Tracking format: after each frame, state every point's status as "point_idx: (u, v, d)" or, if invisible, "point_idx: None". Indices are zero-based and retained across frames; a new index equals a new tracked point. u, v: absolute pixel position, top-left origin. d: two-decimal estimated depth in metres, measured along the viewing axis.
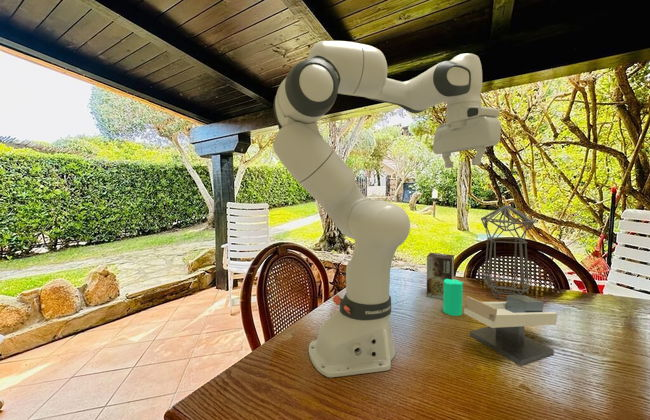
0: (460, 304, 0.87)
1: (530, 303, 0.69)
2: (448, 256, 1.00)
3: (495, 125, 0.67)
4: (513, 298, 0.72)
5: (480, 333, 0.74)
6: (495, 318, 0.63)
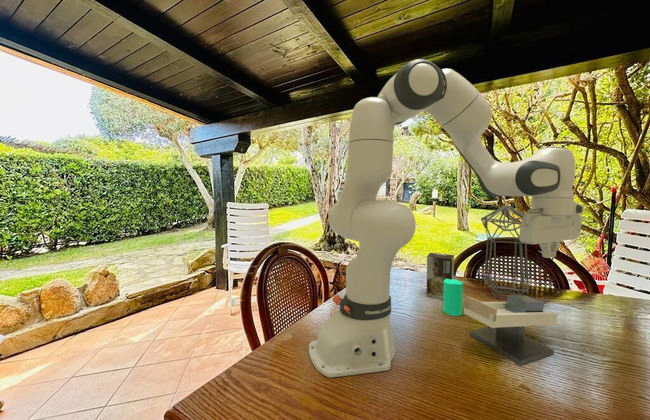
0: (460, 304, 0.87)
1: (530, 303, 0.69)
2: (448, 256, 1.00)
3: None
4: (513, 298, 0.72)
5: (480, 333, 0.74)
6: (495, 318, 0.63)
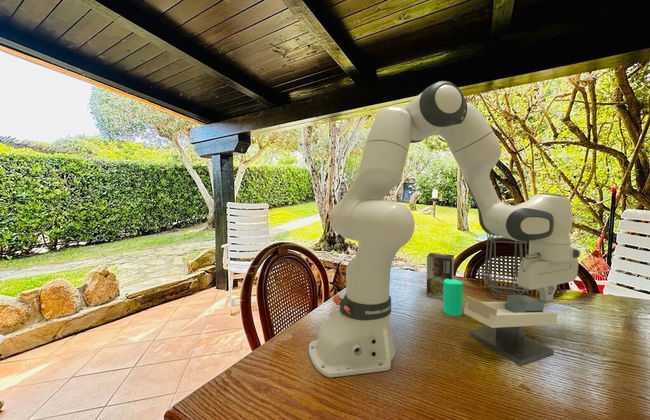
0: (460, 304, 0.87)
1: (530, 303, 0.69)
2: (448, 256, 1.00)
3: None
4: (513, 298, 0.72)
5: (480, 333, 0.74)
6: (495, 318, 0.63)
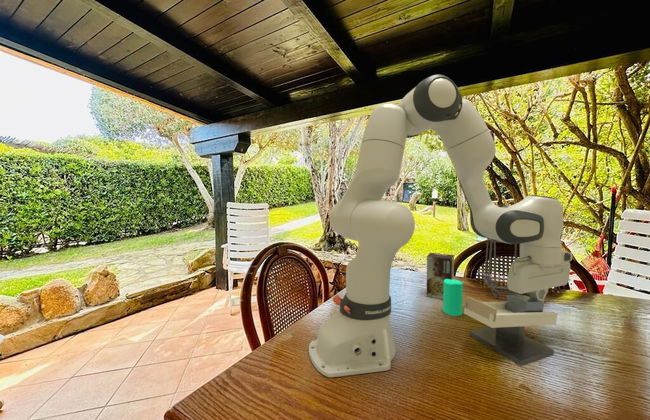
0: (460, 304, 0.87)
1: (530, 303, 0.69)
2: (448, 256, 1.00)
3: None
4: (513, 298, 0.72)
5: (480, 333, 0.74)
6: (495, 318, 0.63)
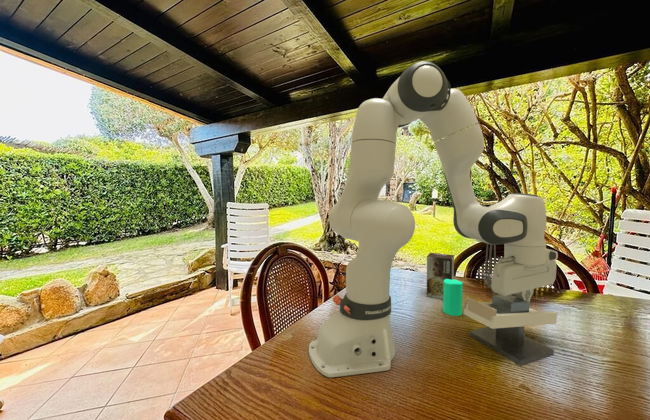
0: (460, 304, 0.87)
1: (515, 304, 0.67)
2: (448, 256, 1.00)
3: None
4: (498, 298, 0.69)
5: (480, 333, 0.74)
6: (495, 319, 0.63)
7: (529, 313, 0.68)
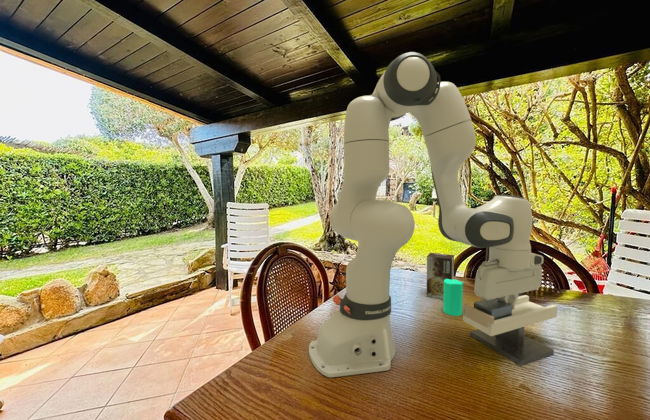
0: (460, 304, 0.87)
1: (496, 310, 0.65)
2: (448, 256, 1.00)
3: None
4: (479, 305, 0.67)
5: (480, 333, 0.74)
6: (493, 327, 0.63)
7: (528, 312, 0.67)
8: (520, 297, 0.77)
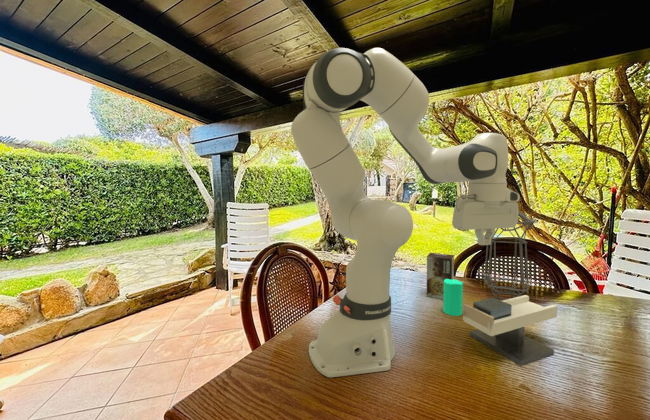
0: (460, 304, 0.87)
1: (496, 310, 0.65)
2: (448, 256, 1.00)
3: None
4: (479, 305, 0.67)
5: (480, 333, 0.74)
6: (493, 327, 0.63)
7: (528, 312, 0.67)
8: (520, 297, 0.77)
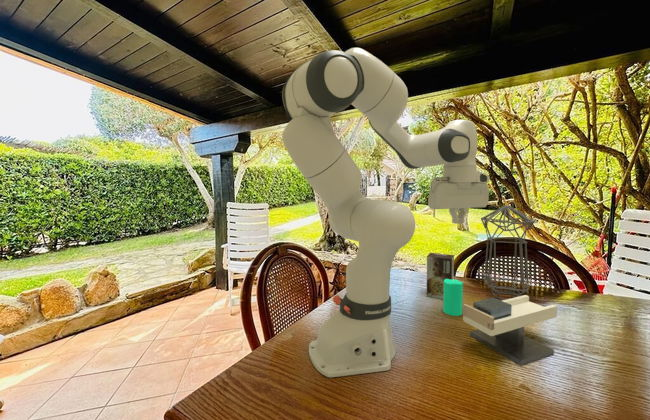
0: (460, 304, 0.87)
1: (496, 310, 0.65)
2: (448, 256, 1.00)
3: None
4: (479, 305, 0.67)
5: (480, 333, 0.74)
6: (493, 327, 0.63)
7: (528, 312, 0.67)
8: (520, 297, 0.77)
